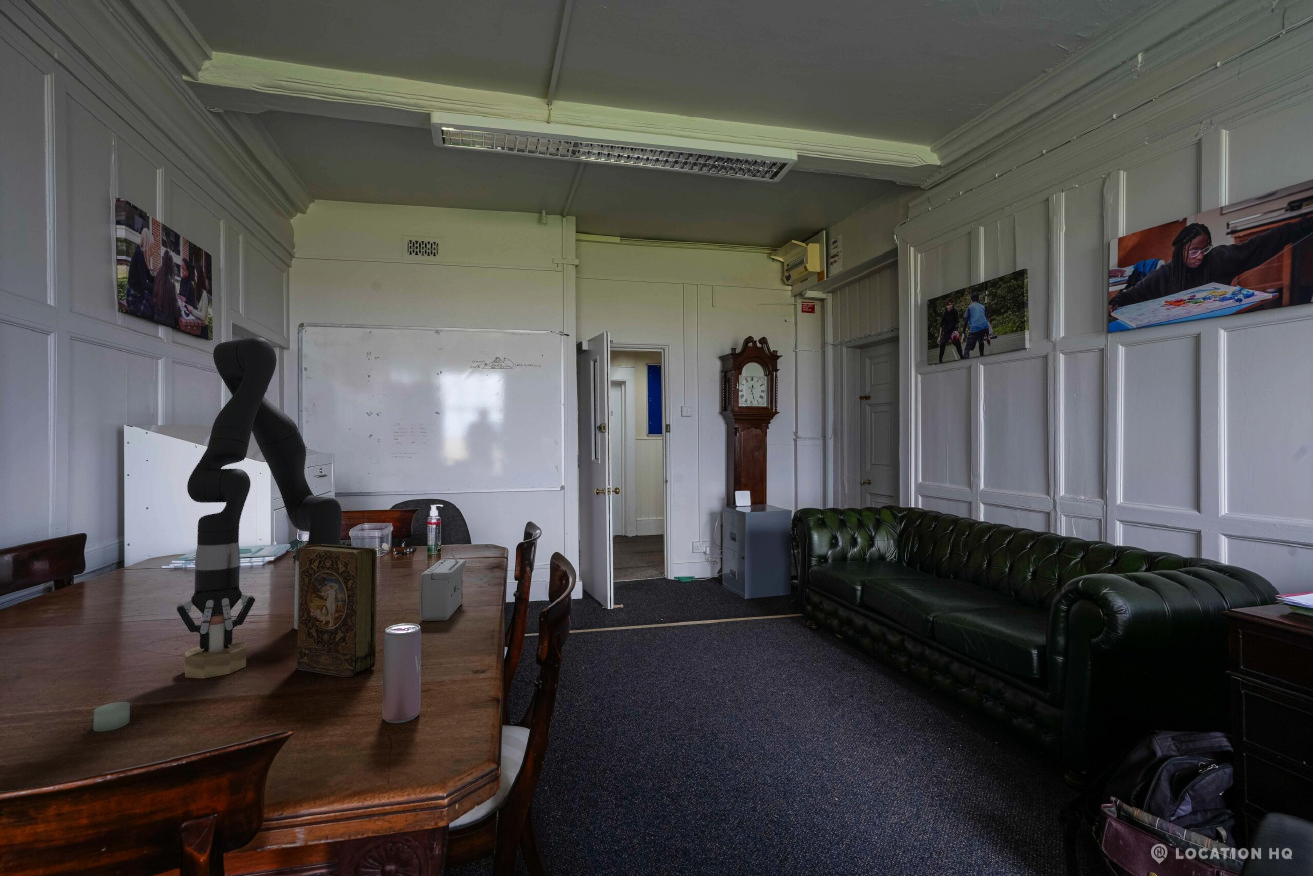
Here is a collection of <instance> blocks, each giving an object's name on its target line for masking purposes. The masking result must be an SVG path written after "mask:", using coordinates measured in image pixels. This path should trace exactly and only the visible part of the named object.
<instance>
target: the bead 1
mask: <svg viewBox="0 0 1313 876" xmlns="http://www.w3.org/2000/svg"><path fill="white" fill-rule="evenodd" d="M130 704H131V703H130V702H128V701H117V702H112V703H111V702H110V703H107V704H104V705H103V704H102V705H101V706H99V707H97V708H95V709H94V711H93V726H92V727H93V731H94V732H109V731H114V730H117V729H120V728H123V727H125V726H127V725H128V724H130V714H131V708H130V707H131V705H130Z"/></svg>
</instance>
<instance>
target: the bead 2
mask: <svg viewBox="0 0 1313 876" xmlns="http://www.w3.org/2000/svg"><path fill="white" fill-rule="evenodd" d="M246 666H247V646H246V644H245V641H244V642H243V641H232V644H231V645H228V648H225V651H221V652H215V653H207V651H206V652H204V649H201V648H200V645H199V646H197V647H194V648H191V649H189V650H186V651H185V652H184V678H189V679H190V678H192V679H207V678H213V677H218V676H225V675H229V674H230V675H231V674H232V673H234V672H237V671H239V670H241V669H244V668H247V667H246Z"/></svg>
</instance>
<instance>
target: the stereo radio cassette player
mask: <svg viewBox="0 0 1313 876" xmlns="http://www.w3.org/2000/svg"><path fill="white" fill-rule="evenodd" d="M445 547H446V548H447V549H448V551H449V553H450V555H451V556H452V558H453V559H440V560H438V561H437V562H435V563H434V564H433V565H432V566H430V567H429V568H427V569H426V570H425V571H423V572H422V573H421V574H420V579H419V617H420V619H422V620H423V621H424V622H429V621H444V622H445V621H448V620H449V619H450V618H451V616H452V615H453V614H454V613H455V612H456V610H458V608H459V607H460V606H461V605H462V603H463V595H464V594H463V592H464V589H463V588H464V587H463V586H464V568H465V567H466V566H467V560H466V559H457V558H456V556H455V555H454V553H453V552H452V551H451V549H450V548H449V546H448V545H446V546H445Z"/></svg>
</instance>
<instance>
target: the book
mask: <svg viewBox="0 0 1313 876" xmlns="http://www.w3.org/2000/svg"><path fill="white" fill-rule="evenodd" d="M298 548H299V591H298V630H297V641H296V643H297V646H296V647H297V649H296V652H297V653H296V669H297V670H300V671H308V672H313V673H318V674H324V675H331V676H336V677H344V678H353V677H355V675H356V674H358V673H361V672H363V671H367V670H371V669H373V668H375V666H376V654H377V649H376V647H377V644H376V643H377V587H378V586H377V581H378V580H377V579H378V578H377V576H378V575H377V574H378V567H377V565H378V563H377V561H378V552H377V549H376V548H374V547H363V546H351V545H326V544H317V545H308V546H304V545H302V546H300V547H298Z"/></svg>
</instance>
